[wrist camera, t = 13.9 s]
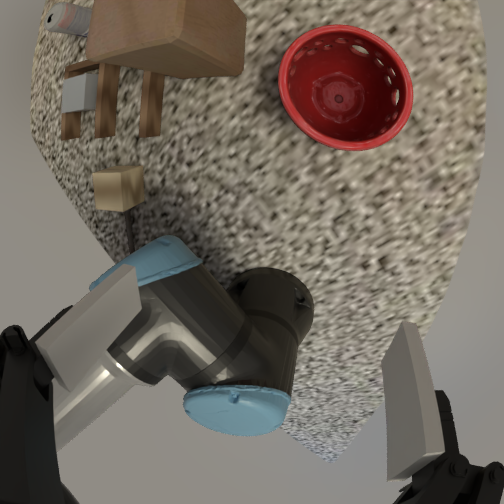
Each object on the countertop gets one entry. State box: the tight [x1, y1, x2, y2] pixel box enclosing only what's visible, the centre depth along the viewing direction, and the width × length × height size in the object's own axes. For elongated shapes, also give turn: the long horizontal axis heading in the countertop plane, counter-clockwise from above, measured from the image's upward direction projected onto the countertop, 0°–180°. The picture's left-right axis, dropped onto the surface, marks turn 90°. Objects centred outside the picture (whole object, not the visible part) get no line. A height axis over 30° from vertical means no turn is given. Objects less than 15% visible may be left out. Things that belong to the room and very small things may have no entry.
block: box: [61, 73, 99, 113], centre depth 35 cm, size 6×6×6 cm
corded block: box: [92, 166, 145, 254], centre depth 42 cm, size 20×6×11 cm, turn 177°
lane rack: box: [61, 60, 165, 140], centre depth 35 cm, size 14×20×4 cm
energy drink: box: [44, 2, 92, 37], centre depth 26 cm, size 5×5×12 cm
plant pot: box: [278, 25, 413, 151], centre depth 26 cm, size 13×13×12 cm
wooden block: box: [86, 0, 247, 79], centre depth 23 cm, size 10×10×20 cm
